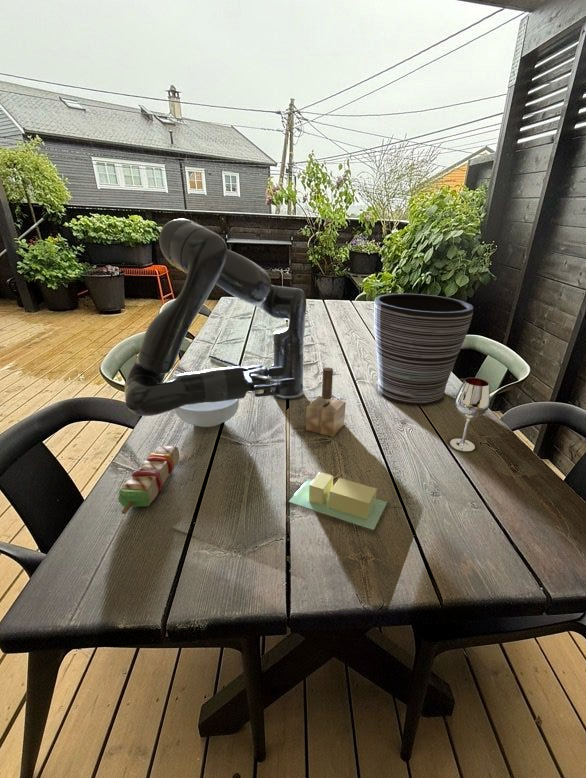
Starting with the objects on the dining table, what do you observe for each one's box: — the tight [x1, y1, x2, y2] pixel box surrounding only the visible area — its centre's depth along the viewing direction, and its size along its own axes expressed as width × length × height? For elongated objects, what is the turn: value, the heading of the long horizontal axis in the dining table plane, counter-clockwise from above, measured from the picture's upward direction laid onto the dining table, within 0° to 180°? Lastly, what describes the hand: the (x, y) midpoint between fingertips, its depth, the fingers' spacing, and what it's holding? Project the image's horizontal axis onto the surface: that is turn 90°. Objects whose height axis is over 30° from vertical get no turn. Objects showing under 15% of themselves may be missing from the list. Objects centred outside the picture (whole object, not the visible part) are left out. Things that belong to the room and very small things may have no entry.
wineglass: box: [449, 377, 491, 453], centre depth 101 cm, size 8×8×18 cm
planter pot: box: [373, 293, 475, 407], centre depth 129 cm, size 30×30×30 cm
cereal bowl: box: [174, 399, 240, 428], centre depth 108 cm, size 17×17×7 cm
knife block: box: [305, 395, 347, 438], centre depth 108 cm, size 8×8×7 cm
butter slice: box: [309, 471, 334, 505], centre depth 81 cm, size 3×5×4 cm, turn 157°
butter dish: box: [288, 477, 388, 531], centre depth 79 cm, size 18×9×5 cm, turn 67°
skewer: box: [118, 444, 180, 515], centre depth 81 cm, size 21×6×5 cm, turn 178°
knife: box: [321, 367, 334, 407], centre depth 106 cm, size 3×3×17 cm
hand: (288, 376), depth 98 cm, fingers open, 8 cm apart
